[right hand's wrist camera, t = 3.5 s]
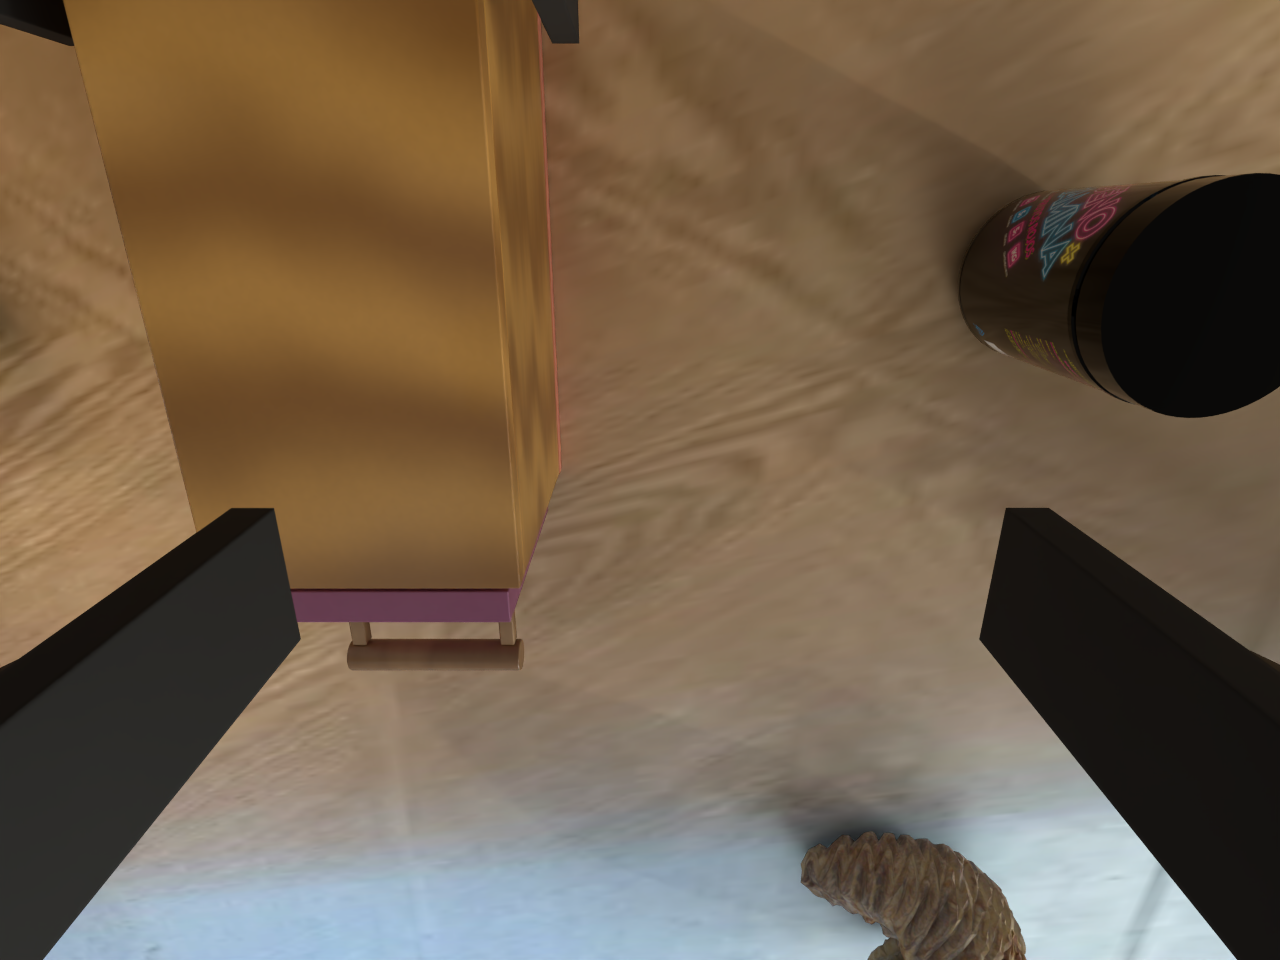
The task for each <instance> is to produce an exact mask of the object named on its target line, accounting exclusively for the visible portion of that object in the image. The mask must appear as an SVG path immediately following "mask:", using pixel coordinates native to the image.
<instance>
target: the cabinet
mask: <svg viewBox="0 0 1280 960" xmlns="http://www.w3.org/2000/svg"><path fill="white" fill-rule="evenodd" d="M63 3H64V7H65V11H66V15H67V19H68V23H69V26H70V30H71V34H72V38H73V42H74V46H75V50H76V54H77V58H78V62H79V66H80V70H81V74H82V78H83V82H84V86H85V90H86V94H87V98H88V102H89V106H90V110H91V114H92V118H93V122H94V126H95V130H96V134H97V138H98V142H99V146H100V150H101V154H102V158H103V162H104V166H105V170H106V174H107V178H108V182H109V186H110V190H111V194H112V198H113V202H114V206H115V210H116V214H117V218H118V222H119V226H120V230H121V234H122V237H123V241H124V245H125V249H126V253H127V257H128V261H129V265H130V269H131V273H132V277H133V281H134V285H135V289H136V293H137V297H138V301H139V305H140V309H141V313H142V317H143V321H144V325H145V329H146V333H147V337H148V341H149V345H150V349H151V353H152V357H153V361H154V365H155V369H156V373H157V377H158V381H159V385H160V389H161V393H162V397H163V401H164V405H165V409H166V413H167V417H168V421H169V425H170V429H171V433H172V437H173V441H174V444H175V448H176V452H177V456H178V460H179V464H180V468H181V472H182V476H183V480H184V484H185V488H186V492H187V496H188V500H189V504H190V508H191V512H192V516H193V520H194V524H195V528H196V532H198V531H200V530H201V529H202V528H204V527H205V526H207V525H208V524H209V523H211V522H212V521H214V520H215V519H217V518H218V517H219V516H221V515H222V514H224V513H225V512H226V511H228V510H229V509H231V508H274V510H275V515H276V520H277V525H278V530H279V535H280V540H281V545H282V550H283V554H284V559H285V564H286V569H287V574H288V579H289V584H290V588H520V587H521V584H522V581H523V578H524V574H525V571H526V568H527V566H528V563H529V560H530V557H531V554H532V551H533V548H534V545H535V542H536V539H537V536H538V533H539V530H540V527H541V524H542V522H543V519H544V516H545V513H546V510H547V507H548V504H549V501H550V498H551V495H552V492H553V489H554V486H555V483H556V480H557V478H558V475H559V474H560V471H561V468H562V465H561V443H560V422H559V400H558V379H557V357H556V336H555V314H554V293H553V272H552V250H551V229H550V207H549V186H548V164H547V143H546V121H545V100H544V78H543V57H542V35H541V19H540V17H539V15H538V12H537V10H536V8H535V6H534V4H533V2H532V0H63Z"/></svg>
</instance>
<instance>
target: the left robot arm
mask: <svg viewBox="0 0 1280 960" xmlns="http://www.w3.org/2000/svg"><path fill="white" fill-rule="evenodd" d="M532 2H533V4H534V6H535V8H536V10H537V12H538V15H539V17H540V19H541V21H542V23H543V25H544V27H545V29H546V31H547V33H548V35H549V37H550V39H551V42H552V44H553V43H579V22H578V0H532ZM0 24H2V25H5V26H8V27H11V28H15V29H18V30H21V31H24V32H27V33H30V34H34V35H37V36H40V37H43V38H46V39H49V40H53V41H56V42H59V43H62V44H65V45H68V46H74V42H73V38H72V34H71V30H70V26H69V23H68V19H67V15H66V11H65V7H64V3H63V0H0Z"/></svg>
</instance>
